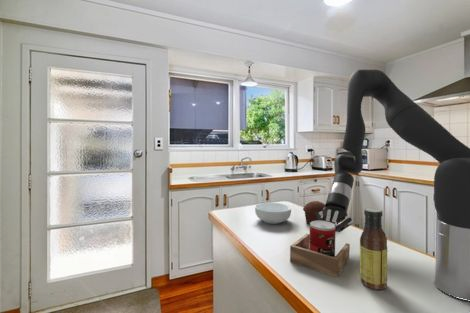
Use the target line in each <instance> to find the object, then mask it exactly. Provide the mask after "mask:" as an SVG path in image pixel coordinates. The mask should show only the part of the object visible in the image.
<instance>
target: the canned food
mask: <svg viewBox="0 0 470 313" xmlns="http://www.w3.org/2000/svg"><path fill="white" fill-rule="evenodd" d="M309 234H310V244H309V250H311V251H315V252H318V253H322V254H325V255H329V256H332V257H335V256H336V232H335V225H334V224H333V223H330V222H327V221H319V220H318V221H312V222H310V226H309Z"/></svg>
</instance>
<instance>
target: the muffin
mask: <svg viewBox="0 0 470 313" xmlns="http://www.w3.org/2000/svg"><path fill="white" fill-rule="evenodd" d="M325 204H326V203H323V202H322V201H310V202H308V203H306V204H305V205H304V206H303V208H302V210H303V211H304V216H305V224H306V225H308V226H309V227H310V222H312V221H318V218H317V216H316V214H315V212H321V211H322V209H323V208H324V207H325ZM322 220H323V221H326V218H325V216H324V214H323V218H322Z"/></svg>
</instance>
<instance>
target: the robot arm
mask: <svg viewBox="0 0 470 313" xmlns="http://www.w3.org/2000/svg"><path fill="white" fill-rule="evenodd" d="M365 97H367V98H368V97H371V98H373V99H375V100H376V101H378V102H379V104H380V105H382V107H383V109H384V116H385V121H386V122H387V125H388V126H389V127H390V128H391V129H392V131H393V132H395V134H396V135H398V137H399V138H401V140H403V141H405V142H406V143H408V144H410V145H411V146H413V147H415V148H416V149H419V150H420V151H421V152H424V153H426V154H427V155H429V156H430V157H432V158H433V159H435V160H436V161H437V162H438V163H439V164H438V166H437V167H436V169H435V172H434V177H433V178H434V179H433V200H434V201H433V203H434V204H433V205H434V208H435V210H436V213H437V221H436V222H437V223H436V224H437V225H436V227H437V228H436V245H435V247H436V248H435V266H434V269H435V270H434V285H436V286H437V287H438V288H439V289H440V290H439V289H438V288H437V287H436V286H435V287H436V288H437V289H438V290H439V291H441V290H442V291H443V292H442V291H441V292H442V293H444V292H445V293H444V294H446V293H447V294H450V295H452V296H455V297H459V298H463V299H467V300H470V147H469V146H467V145H466V144H464V143H463V142H461V141H460V140H459V139H457V137H455V136H454V135H453V134H452V133H451V132H449V130H448V129H447V128H446V127H444V126H443V125H442V124H440V123H439V122H438V121H437V120H436V119H435V118H434V117H432V115H431V114H429V113H428V112H427V111H426V110H425V109H424V108H422V107H421V106H420V105H419V104H418V103H416V102H415V101H414V100H412V99H411V98H410V97H409V96H408V95H407V94H405V93H404V92H403V91H402V90H400V88H399V87H397V85H396V84H395V82H393V80H391V78H390V77H389V76H388V75H387V74H386V73H385V72H384V71H382V70H379V69H357V70H355V71H354V72H353V73H352V74H350V78H349V79H348V83H347V99H346V101H347V103H346V123H345V124H346V125H345V129H344V130H345V131H344V135H343V140H342V148H343V149H344V150H345V151H347V152H349V153H351V154H352V155H347V154H344V153H341V154H337V155H336V156H335V158H334V160H333V166H334V176H333V180H332V183H331V186H330V188H329V191H328V194H327V198H326V201H325V203H324V204H325V207H324V208H323V209H322V211H321V212H315V214H316V216H317V218H318V220H319V221H323V220H322V218H323V214H324V216H325V218H326V221H327V222H330V223H333V224H334V225H335V233H337V232H338V233H341V232H343V231H344V230H345V229H347V228H349V227H350V226H352V225H353V224H354V223H353V219H352V217H349V214H348V210H349V205H350V202H351V198H352V191H353V186H354V181H355V178H354V176H353V175H358V174H360V173H361V172H362V171H363V167H364V164H363V152H362V151H363V145H364V140H365V137H366V124H365V121H364V118H363V115H362V114H363V113H362V104H363V99H364V98H365ZM447 294H446V295H447ZM450 295H449V296H450ZM452 296H451V297H452Z"/></svg>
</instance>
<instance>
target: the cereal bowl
mask: <svg viewBox="0 0 470 313" xmlns="http://www.w3.org/2000/svg"><path fill="white" fill-rule="evenodd" d="M254 210H255V211H254V212H255V216H256V217H257V218H258V219H260V220H261V221H264V223H266V224H268V225H278V224H281V223H283V222H286V221H288V220H289V219H290V217H291V215H292V214H291V213H292V208H291V206H290V205H287V204H283V203H279V202H263V203H258V204H255V207H254Z"/></svg>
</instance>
